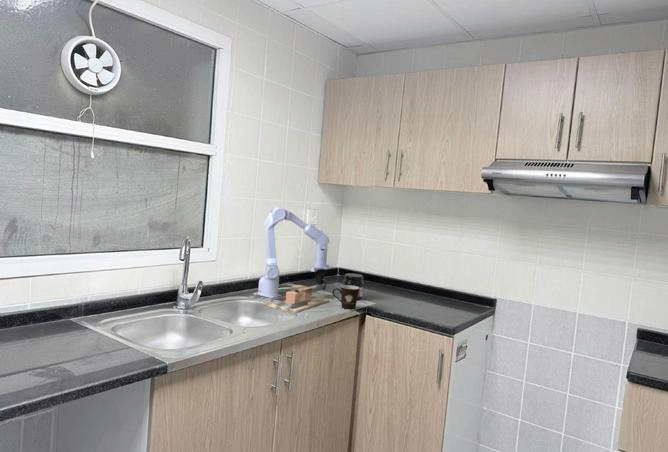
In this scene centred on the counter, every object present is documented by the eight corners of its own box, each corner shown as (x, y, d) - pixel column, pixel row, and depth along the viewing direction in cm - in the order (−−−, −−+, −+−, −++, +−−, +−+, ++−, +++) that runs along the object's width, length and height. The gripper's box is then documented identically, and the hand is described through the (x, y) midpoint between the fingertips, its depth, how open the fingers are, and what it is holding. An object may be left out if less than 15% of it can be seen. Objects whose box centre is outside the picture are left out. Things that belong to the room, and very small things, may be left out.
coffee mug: (360, 308, 219) (362, 287, 219) (352, 311, 212) (353, 290, 211) (339, 303, 225) (341, 283, 225) (330, 306, 218) (332, 285, 217)
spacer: (289, 301, 217) (285, 302, 215) (290, 291, 217) (286, 292, 214) (298, 303, 215) (294, 304, 212) (299, 293, 214) (295, 294, 212)
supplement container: (365, 300, 236) (367, 277, 236) (346, 300, 233) (348, 277, 232) (357, 295, 246) (359, 273, 245) (338, 295, 242) (340, 273, 241)
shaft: (295, 293, 221) (296, 283, 221) (317, 287, 238) (317, 278, 238) (304, 295, 219) (305, 285, 219) (325, 289, 236) (326, 279, 235)
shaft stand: (264, 305, 211) (265, 289, 210) (300, 295, 236) (301, 280, 235) (295, 312, 203) (296, 295, 202) (328, 301, 228) (330, 286, 227)
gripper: (320, 259, 225) (318, 287, 226) (335, 257, 238) (332, 283, 239) (308, 257, 229) (305, 285, 230) (323, 255, 241) (321, 281, 242)
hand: (318, 284), depth 234 cm, fingers closed
